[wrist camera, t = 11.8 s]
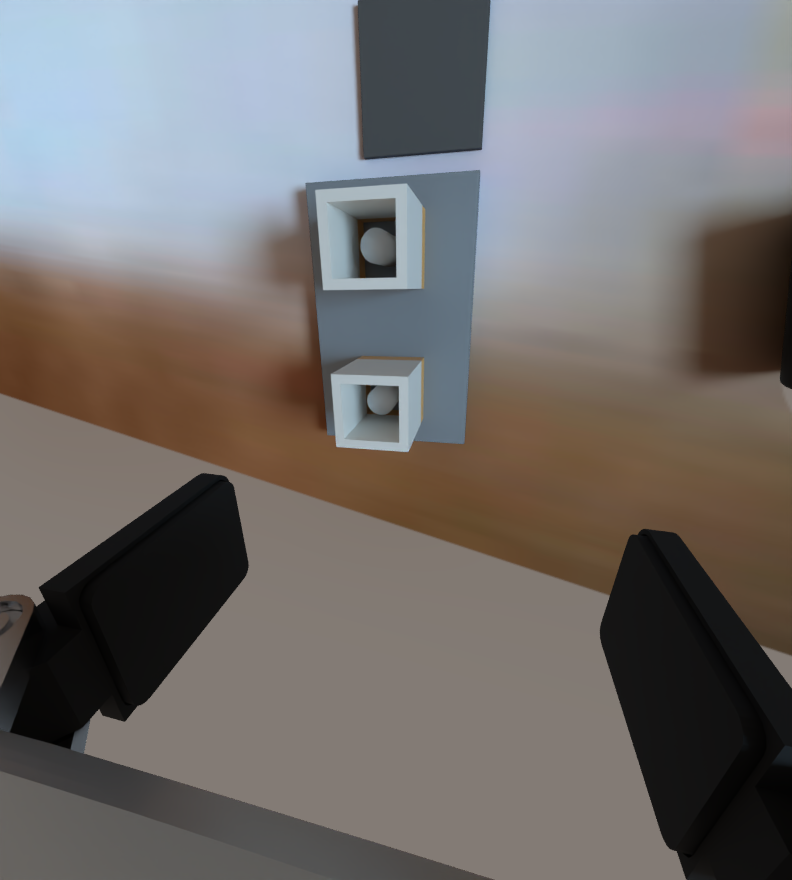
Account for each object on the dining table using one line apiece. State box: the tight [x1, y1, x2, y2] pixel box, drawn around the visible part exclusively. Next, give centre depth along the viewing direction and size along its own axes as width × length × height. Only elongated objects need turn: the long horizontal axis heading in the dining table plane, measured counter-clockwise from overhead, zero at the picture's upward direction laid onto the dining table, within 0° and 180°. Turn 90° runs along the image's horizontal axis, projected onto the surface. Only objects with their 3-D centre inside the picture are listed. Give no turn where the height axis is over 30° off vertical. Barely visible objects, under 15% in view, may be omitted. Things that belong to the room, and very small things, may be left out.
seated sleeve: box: [315, 183, 425, 290], centre depth 24 cm, size 5×5×7 cm
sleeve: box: [331, 356, 424, 452], centre depth 28 cm, size 5×5×7 cm
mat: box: [358, 0, 490, 159], centre depth 24 cm, size 8×8×1 cm
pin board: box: [306, 170, 480, 444], centre depth 28 cm, size 19×12×6 cm, turn 1°
